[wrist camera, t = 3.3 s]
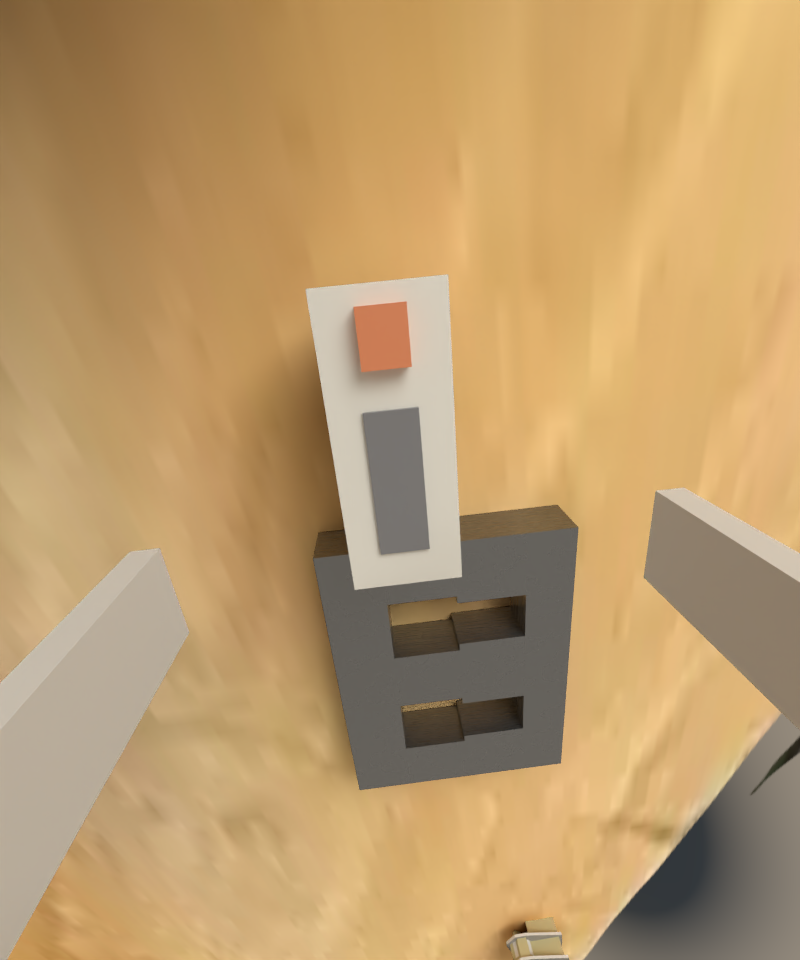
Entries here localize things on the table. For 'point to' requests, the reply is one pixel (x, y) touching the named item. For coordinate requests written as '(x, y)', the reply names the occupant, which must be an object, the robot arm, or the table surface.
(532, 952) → the building
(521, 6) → the table surface
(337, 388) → the light grey box
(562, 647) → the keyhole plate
